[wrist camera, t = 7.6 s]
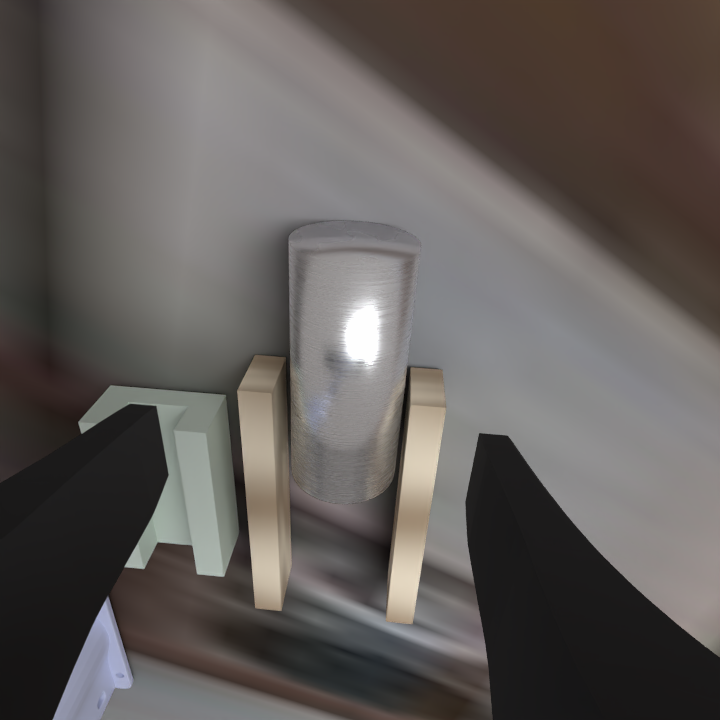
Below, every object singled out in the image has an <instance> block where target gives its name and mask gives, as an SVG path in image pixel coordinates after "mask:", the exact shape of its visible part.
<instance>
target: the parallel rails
mask: <svg viewBox="0 0 720 720" xmlns="http://www.w3.org/2000/svg"><path fill="white" fill-rule="evenodd" d="M237 394H238V406H239V418H240V430H241V442H242V454H243V466H244V478H245V489H246V501H247V513H248V525H249V537H250V549H251V561H252V573H253V585H254V597H255V608H258V609H268V610H278V611H281V610H282V606H283V601H284V597H285V592H286V588H287V583H288V579H289V575H290V570H291V566H292V563H291V526H290V490H289V453H288V417H287V381H286V357H276V356H264V355H255V356H254V358H253V360H252V362H251V364H250V366H249V368H248V370H247V372H246V374H245V376H244V378H243V380H242V382H241V384H240V386H239V388H238V390H237ZM445 412H446V401H445V392H444V382H443V372H442V370H439V369H426V368H414V367H411V368H410V378H409V387H408V396H407V405H406V414H405V423H404V432H403V441H402V450H401V459H400V468H399V477H398V487H397V496H396V505H395V514H394V523H393V532H392V541H391V550H390V559H389V568H388V582H387V607H386V621H387V622H397V623H407V624H412V623H413V617H414V611H415V604H416V598H417V591H418V585H419V579H420V572H421V566H422V559H423V553H424V547H425V540H426V534H427V527H428V521H429V515H430V508H431V502H432V495H433V489H434V483H435V476H436V470H437V463H438V457H439V451H440V444H441V438H442V431H443V425H444V419H445Z"/></svg>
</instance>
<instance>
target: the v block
mask: <svg viewBox="0 0 720 720" xmlns="http://www.w3.org/2000/svg"><path fill="white" fill-rule="evenodd" d="M129 404H141V405H152V406H157V411H158V417H159V423H160V428H161V434H162V439H163V445H164V451H165V456H166V462H167V467H168V473H169V476H168V478H167V481H166V484H165V486H164V489H163V492H162V494H161V497H160V499H159V502H158V504H157V507H156V509H155V512H154V514H153V516H152V518H151V520H150V522H149V524H148V525H147V527H146V529H145V531H144V533H143V534H142V536H141V538H140V540H139V542H138V544H137V545H136V547H135V549H134V551H133V552H132V554H131V556H130V558H129V560H128V561H127V563H126V565H125V567H130V568H140V569H144V568H145V566H146V564H147V562H148V560H149V558H150V556H151V554H152V552H153V550H154V548H155V546H156V544H157V543H158V542H162V543H172V544H183V545H193V551H194V557H195V564H196V570H197V574H200V575H211V576H221V577H224V575H225V572H226V570H227V567H228V564H229V561H230V558H231V555H232V552H233V549H234V547H235V544H236V541H237V538H238V535H239V524H238V513H237V503H236V493H235V482H234V472H233V462H232V452H231V441H230V431H229V421H228V410H227V400H226V395H220V394H208V393H197V392H185V391H173V390H161V389H149V388H137V387H125V386H113V385H110V387H109V388H108V389H107V390H106V391H105V392H104V393H103V395H102V396H101V397H100V398H99V399H98V400H97V401H96V402H95V404H94V405H93V406H92V407H91V408H90V409H89V410H88V412H87V413H86V414H85V415H84V416H83V417H82V418H81V419H80V421H79V422H78V423H79V427H80V430H81V434H82V433H84V432H85V431H87V430H88V429H90V428H91V427H93V426H95V425H96V424H98V423H99V422H101V421H102V420H104V419H105V418H107V417H109V416H110V415H112V414H113V413H115V412H117V411H118V410H120V409H122V408H123V407H125V406H127V405H129Z"/></svg>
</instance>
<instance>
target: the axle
mask: <svg viewBox="0 0 720 720" xmlns="http://www.w3.org/2000/svg"><path fill="white" fill-rule="evenodd" d="M420 252H421V243H420V241H419V240H418V239H417V238H416V237H415V236H414V235H412V234H410V233H408V232H406V231H404V230H401V229H398V228H395V227H391V226H387V225H383V224H377V223H370V222H361V221H329V222H320V223H314V224H310V225H306V226H303V227H300V228H298V229H296V230H294V231H293V232H292V233H291V234H290V235H289V312H290V390H291V469H292V475H293V477H294V480H295V481H296V483H297V484H298V486H299V487H300V488H301V489H302V490H303V491H305V492H306V493H307V494H309V495H311V496H312V497H314V498H316V499H319V500H322V501H325V502H329V503H335V504H354V503H360V502H364V501H368V500H370V499H373V498H375V497H377V496H378V495H380V494H381V493H383V492H384V491H385V490H386V489H387V488H388V487H389V486H390V484H391V482H392V481H393V478H394V474H395V466H396V457H397V449H398V440H399V432H400V423H401V414H402V406H403V397H404V389H405V380H406V372H407V363H408V354H409V346H410V337H411V329H412V320H413V312H414V303H415V294H416V286H417V277H418V269H419V260H420Z"/></svg>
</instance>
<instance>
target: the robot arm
mask: <svg viewBox="0 0 720 720" xmlns="http://www.w3.org/2000/svg"><path fill="white" fill-rule="evenodd" d="M168 476H169V473H168V467H167V462H166V456H165V451H164V445H163V439H162V434H161V428H160V423H159V417H158V411H157V406H152V405H141V404H129V405H127V406H125V407H123V408H122V409H120V410H118V411H117V412H115V413H113V414H112V415H110V416H109V417H107V418H105V419H104V420H102V421H101V422H99V423H98V424H96V425H95V426H93V427H91V428H90V429H88V430H87V431H85V432H84V433H82V434H81V435H79V436H77V437H76V438H74V439H73V440H71V441H70V442H68V443H66V444H65V445H63V446H62V447H60V448H59V449H57V450H55V451H54V452H52V453H51V454H49V455H48V456H46V457H44V458H42V459H41V460H39V461H37V462H36V463H34V464H32V465H31V466H29V467H27V468H25V469H24V470H22V471H20V472H19V473H17V474H15V475H13V476H12V477H10V478H8V479H7V480H5V481H3V482H1V483H0V720H100V719H101V717H102V715H103V713H104V710H105V708H106V706H107V704H108V702H109V700H110V697H111V695H112V693H113V691H114V689H115V688H122V689H127V688H130V687H131V685H132V683H133V677H132V674H131V670H130V667H129V664H128V660H127V657H126V654H125V650H124V647H123V644H122V640H121V637H120V634H119V630H118V627H117V624H116V620H115V617H114V614H113V610H112V607H111V604H110V600H109V597H108V595H109V593H110V592H111V590H112V588H113V586H114V584H115V583H116V581H117V579H118V577H119V576H120V574H121V572H122V570H123V568H124V567H125V565H126V563H127V561H128V560H129V558H130V556H131V554H132V552H133V551H134V549H135V547H136V545H137V544H138V542H139V540H140V538H141V536H142V534H143V533H144V531H145V529H146V527H147V525H148V524H149V522H150V520H151V518H152V516H153V514H154V512H155V509H156V507H157V504H158V502H159V499H160V497H161V494H162V492H163V489H164V486H165V484H166V481H167V478H168ZM466 522H467V538H468V548H469V554H470V560H471V566H472V571H473V577H474V583H475V588H476V594H477V600H478V605H479V611H480V616H481V622H482V627H483V633H484V639H485V645H486V652H487V659H488V667H489V679H490V691H491V703H492V715H493V720H720V657H718V656H717V655H716V654H714V653H713V652H712V651H710V650H709V649H708V648H706V647H705V646H704V645H702V644H701V643H700V642H699V641H697V640H696V639H695V638H694V637H692V636H691V635H690V634H689V633H687V632H686V631H685V630H684V629H682V628H681V627H680V626H679V625H677V624H676V623H675V622H674V621H673V620H672V619H670V618H669V617H668V616H667V615H666V614H665V613H663V612H662V611H661V610H660V609H659V608H658V607H656V606H655V605H654V604H653V603H652V602H651V601H649V600H648V599H647V598H646V597H645V596H644V595H643V594H642V593H641V592H639V591H638V590H637V589H636V588H635V587H634V586H633V585H632V584H631V583H630V582H629V581H628V580H627V579H626V578H625V577H624V576H623V575H621V574H620V573H619V572H618V571H617V570H616V569H615V568H614V567H613V566H612V565H611V564H610V563H609V562H608V561H607V560H606V559H605V558H604V557H603V556H602V555H601V554H600V553H599V552H598V550H597V549H596V548H595V547H594V546H593V545H592V544H591V543H590V542H589V541H588V540H587V538H586V537H585V536H584V535H583V534H582V533H581V532H580V530H579V529H578V528H577V527H576V526H575V525H574V523H573V522H572V521H571V520H570V519H569V517H568V516H567V515H566V514H565V513H564V511H563V510H562V509H561V508H560V506H559V505H558V504H557V502H556V501H555V500H554V499H553V497H552V496H551V495H550V494H549V492H548V491H547V490H546V488H545V487H544V486H543V484H542V483H541V482H540V480H539V479H538V478H537V476H536V475H535V473H534V472H533V471H532V469H531V468H530V466H529V465H528V464H527V462H526V461H525V459H524V458H523V456H522V455H521V454H520V452H519V451H518V449H517V448H516V446H515V445H514V443H513V442H512V441H511V439H510V438H509V437H508V436H505V435H493V434H482V433H479V437H478V442H477V447H476V452H475V457H474V462H473V467H472V472H471V477H470V482H469V487H468V492H467V497H466Z"/></svg>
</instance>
